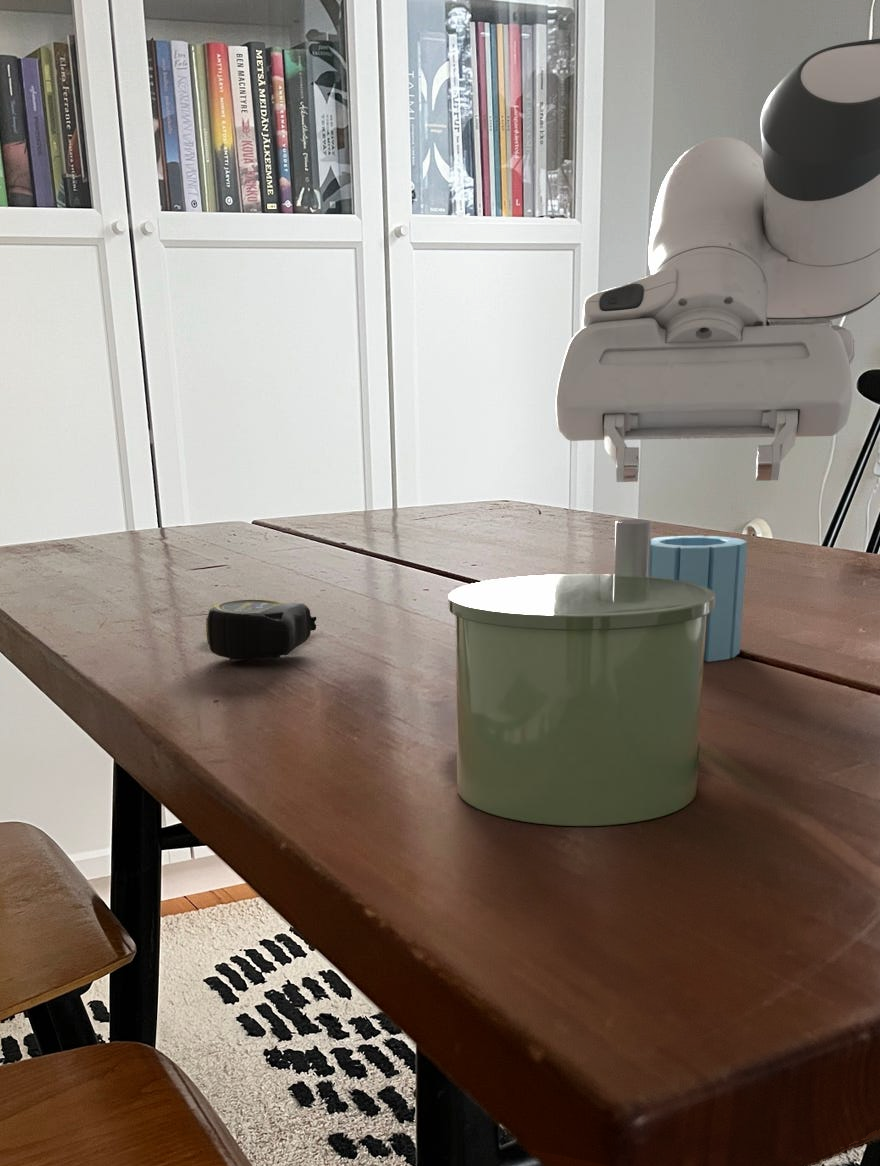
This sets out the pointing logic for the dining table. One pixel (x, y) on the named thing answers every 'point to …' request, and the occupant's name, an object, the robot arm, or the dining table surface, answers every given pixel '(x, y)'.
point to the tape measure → (257, 628)
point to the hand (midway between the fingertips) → (696, 475)
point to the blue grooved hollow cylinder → (708, 582)
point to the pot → (581, 691)
